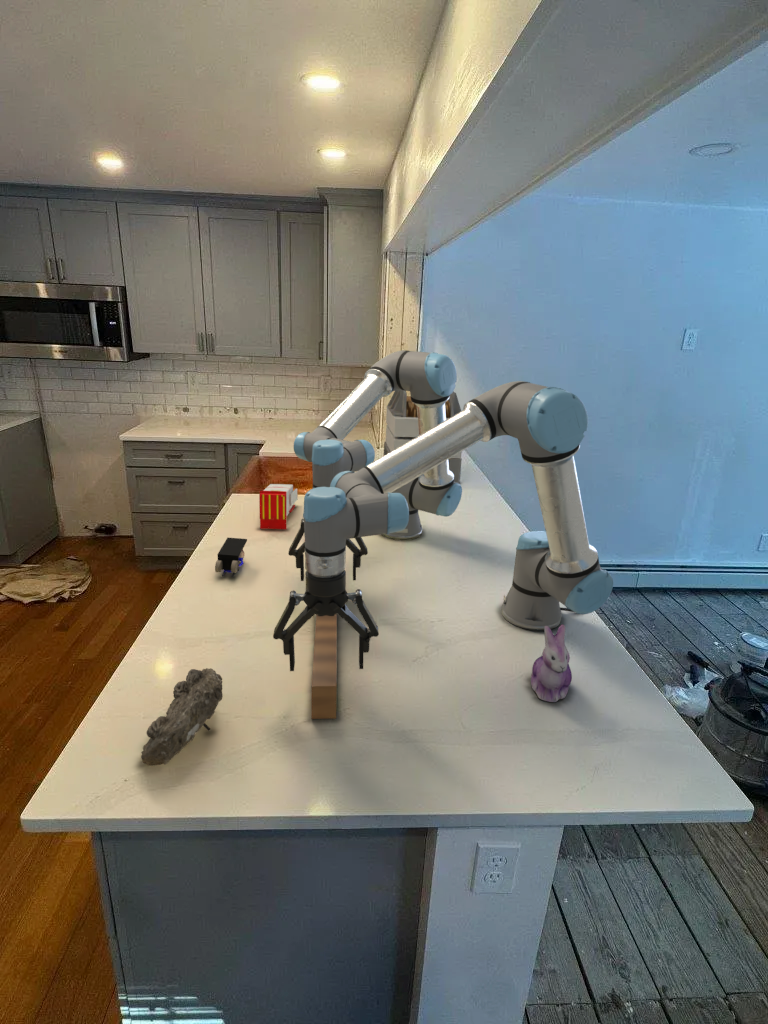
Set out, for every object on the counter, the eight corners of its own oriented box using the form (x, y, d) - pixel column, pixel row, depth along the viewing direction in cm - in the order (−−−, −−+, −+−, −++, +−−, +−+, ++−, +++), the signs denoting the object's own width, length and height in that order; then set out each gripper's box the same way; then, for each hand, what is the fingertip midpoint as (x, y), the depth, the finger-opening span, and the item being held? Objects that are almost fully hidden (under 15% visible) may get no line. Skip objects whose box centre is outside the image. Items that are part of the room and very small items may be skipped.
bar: (319, 591, 157) (319, 567, 155) (336, 591, 158) (336, 567, 155) (311, 718, 109) (311, 686, 106) (336, 718, 109) (336, 686, 107)
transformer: (382, 463, 289) (386, 382, 275) (445, 464, 293) (451, 384, 279) (390, 482, 257) (394, 392, 243) (460, 483, 261) (468, 394, 247)
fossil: (171, 669, 114) (224, 637, 109) (205, 700, 117) (257, 670, 112) (115, 759, 95) (175, 724, 90) (157, 793, 97) (218, 762, 92)
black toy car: (238, 584, 162) (249, 557, 175) (236, 562, 158) (247, 536, 172) (215, 584, 161) (227, 556, 175) (212, 561, 158) (225, 535, 171)
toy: (299, 479, 223) (289, 492, 194) (299, 512, 226) (289, 530, 197) (268, 478, 223) (253, 491, 193) (268, 512, 225) (254, 529, 196)
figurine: (550, 710, 114) (561, 646, 109) (517, 681, 122) (526, 620, 117) (585, 697, 118) (597, 635, 113) (550, 670, 127) (560, 611, 121)
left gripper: (275, 507, 137) (279, 585, 144) (378, 507, 139) (376, 584, 147) (278, 497, 144) (281, 572, 151) (376, 497, 146) (374, 571, 154)
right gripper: (254, 580, 101) (261, 679, 108) (394, 577, 103) (391, 675, 110) (260, 562, 108) (265, 656, 115) (390, 560, 110) (387, 653, 117)
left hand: (328, 578), depth 149 cm, fingers open, 13 cm apart
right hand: (326, 666), depth 113 cm, fingers open, 13 cm apart
